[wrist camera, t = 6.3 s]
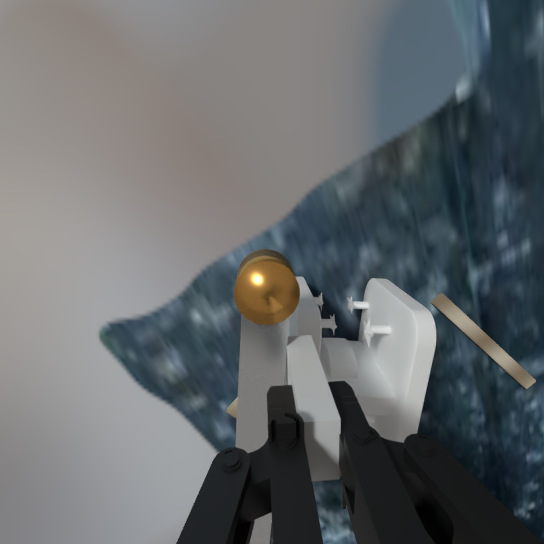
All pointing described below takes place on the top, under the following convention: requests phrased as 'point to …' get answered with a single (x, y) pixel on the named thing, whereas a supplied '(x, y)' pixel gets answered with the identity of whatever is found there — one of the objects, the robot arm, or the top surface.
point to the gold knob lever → (262, 350)
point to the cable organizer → (376, 354)
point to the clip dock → (475, 335)
